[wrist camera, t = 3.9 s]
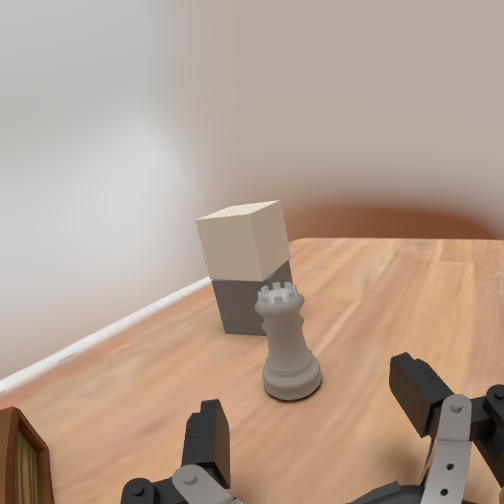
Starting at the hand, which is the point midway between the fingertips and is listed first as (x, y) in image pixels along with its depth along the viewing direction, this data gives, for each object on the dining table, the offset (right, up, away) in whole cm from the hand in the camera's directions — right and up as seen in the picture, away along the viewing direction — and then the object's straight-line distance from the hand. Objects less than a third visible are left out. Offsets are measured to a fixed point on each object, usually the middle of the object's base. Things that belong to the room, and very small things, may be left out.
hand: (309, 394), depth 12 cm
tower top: (-3, +5, +18) cm, 19 cm away
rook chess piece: (+1, -4, +9) cm, 10 cm away
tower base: (-1, -1, +20) cm, 20 cm away
